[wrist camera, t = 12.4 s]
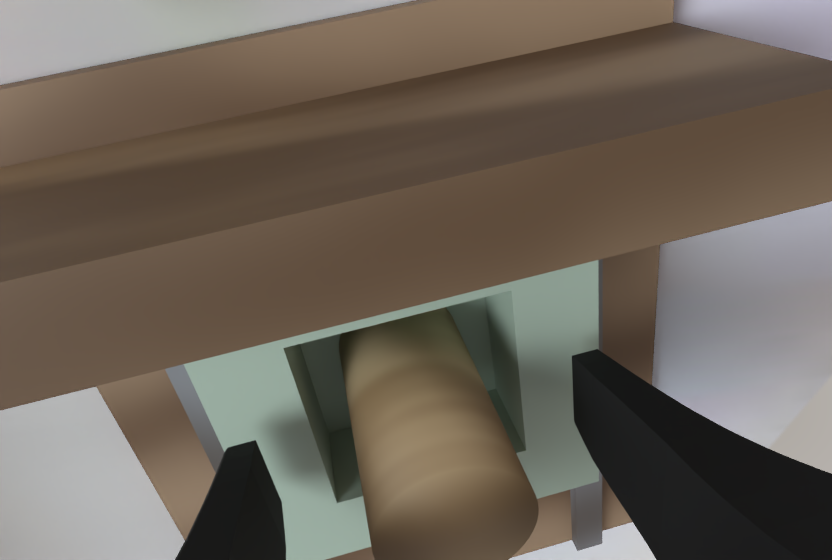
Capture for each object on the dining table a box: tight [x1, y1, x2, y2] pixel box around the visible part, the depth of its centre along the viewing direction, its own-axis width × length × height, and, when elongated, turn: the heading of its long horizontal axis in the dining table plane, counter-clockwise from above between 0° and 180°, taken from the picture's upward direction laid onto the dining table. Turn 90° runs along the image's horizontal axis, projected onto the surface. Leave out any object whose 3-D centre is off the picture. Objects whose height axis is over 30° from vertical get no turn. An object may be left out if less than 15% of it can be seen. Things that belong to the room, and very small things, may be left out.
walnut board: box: [0, 0, 832, 560], centre depth 16 cm, size 20×16×7 cm
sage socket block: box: [184, 260, 599, 560], centre depth 16 cm, size 9×9×3 cm
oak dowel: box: [339, 307, 539, 560], centre depth 14 cm, size 3×3×6 cm
